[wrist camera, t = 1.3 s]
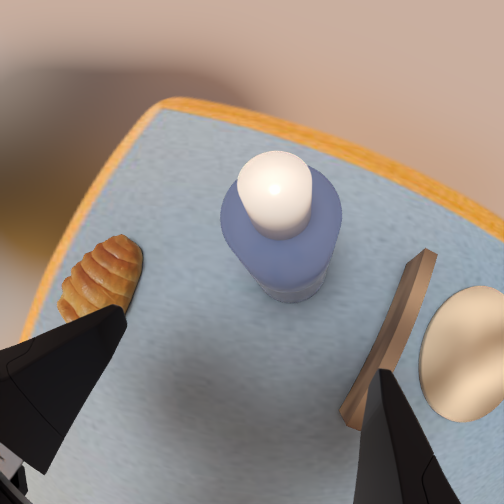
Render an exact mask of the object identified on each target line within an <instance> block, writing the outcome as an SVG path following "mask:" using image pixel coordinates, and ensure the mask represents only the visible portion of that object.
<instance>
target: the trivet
mask: <svg viewBox="0 0 504 504" xmlns="http://www.w3.org/2000/svg"><path fill="white" fill-rule="evenodd" d="M419 378H420V384H421V388H422V391H423V394H424V396H425V398H426V400H427V402H428V404H429V405H430V406H431V407H432V409H433V410H434V411H436V412H437V413H438V414H439V415H441V416H443V417H445V418H447V419H449V420H452V421H455V422H470V421H474V420H477V419H480V418H481V417H483V416H485V415H487V414H488V413H490V412H491V411H492V410H494V409H495V408H496V407H497V406H498V405H499V404H500V403H501V402H502V401H503V399H504V295H503V294H502V293H501V292H499V291H498V290H496V289H493V288H491V287H487V286H474V287H470V288H467V289H464V290H462V291H460V292H458V293H456V294H454V295H453V296H451V297H450V298H448V299H447V300H446V301H445V302H444V303H443V304H442V305H441V306H440V308H439V309H438V310H437V311H436V313H435V314H434V316H433V317H432V319H431V321H430V323H429V325H428V327H427V329H426V332H425V334H424V338H423V341H422V345H421V350H420V356H419Z"/></svg>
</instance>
